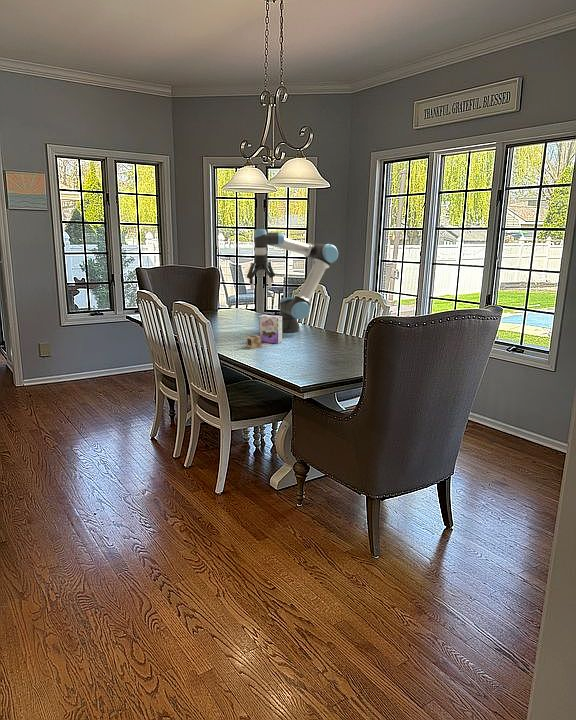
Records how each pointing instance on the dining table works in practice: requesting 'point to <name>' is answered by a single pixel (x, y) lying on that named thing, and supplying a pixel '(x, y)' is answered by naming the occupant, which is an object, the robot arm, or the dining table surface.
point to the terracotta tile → (253, 348)
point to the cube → (253, 341)
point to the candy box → (270, 329)
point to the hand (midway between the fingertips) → (261, 288)
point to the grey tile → (266, 344)
